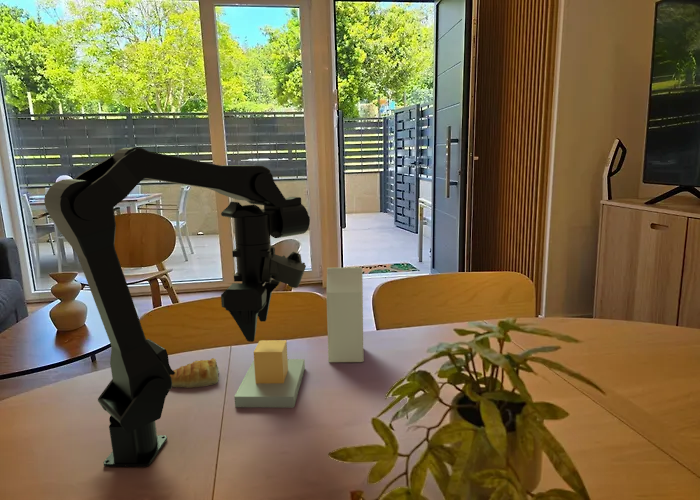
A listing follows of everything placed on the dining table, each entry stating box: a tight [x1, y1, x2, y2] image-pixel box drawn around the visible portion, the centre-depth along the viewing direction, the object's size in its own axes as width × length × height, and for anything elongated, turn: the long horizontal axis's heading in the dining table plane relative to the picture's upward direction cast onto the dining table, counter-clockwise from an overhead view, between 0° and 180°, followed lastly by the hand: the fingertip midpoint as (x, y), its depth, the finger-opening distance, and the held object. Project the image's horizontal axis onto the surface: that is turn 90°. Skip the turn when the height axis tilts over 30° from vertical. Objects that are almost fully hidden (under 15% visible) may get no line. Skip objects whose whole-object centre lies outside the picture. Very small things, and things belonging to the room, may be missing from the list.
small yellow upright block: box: [253, 339, 289, 383], centre depth 83 cm, size 5×5×6 cm
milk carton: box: [325, 267, 364, 363], centre depth 95 cm, size 7×7×19 cm
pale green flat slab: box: [234, 358, 306, 408], centre depth 84 cm, size 14×10×7 cm
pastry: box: [170, 357, 220, 389], centre depth 87 cm, size 9×7×4 cm
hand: (257, 330), depth 80 cm, fingers open, 9 cm apart
